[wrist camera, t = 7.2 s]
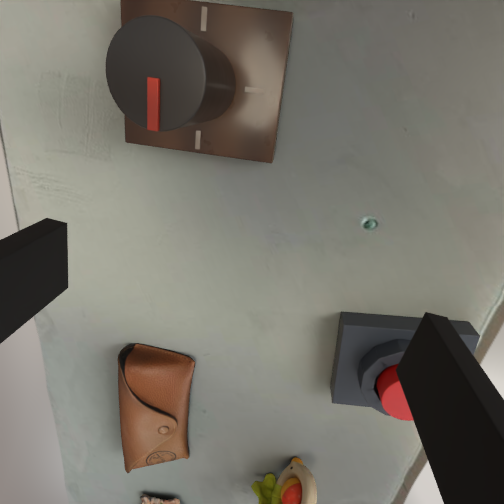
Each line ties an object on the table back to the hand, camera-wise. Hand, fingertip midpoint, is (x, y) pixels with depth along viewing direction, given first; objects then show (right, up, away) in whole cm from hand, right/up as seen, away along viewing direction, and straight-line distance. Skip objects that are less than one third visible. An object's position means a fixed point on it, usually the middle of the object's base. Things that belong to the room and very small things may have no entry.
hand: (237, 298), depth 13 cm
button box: (+15, -9, +23) cm, 29 cm away
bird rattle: (+5, -26, +32) cm, 42 cm away
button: (+15, -11, +20) cm, 27 cm away
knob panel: (-3, +15, +15) cm, 21 cm away
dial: (-3, +14, +13) cm, 19 cm away
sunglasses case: (-11, -17, +30) cm, 36 cm away
